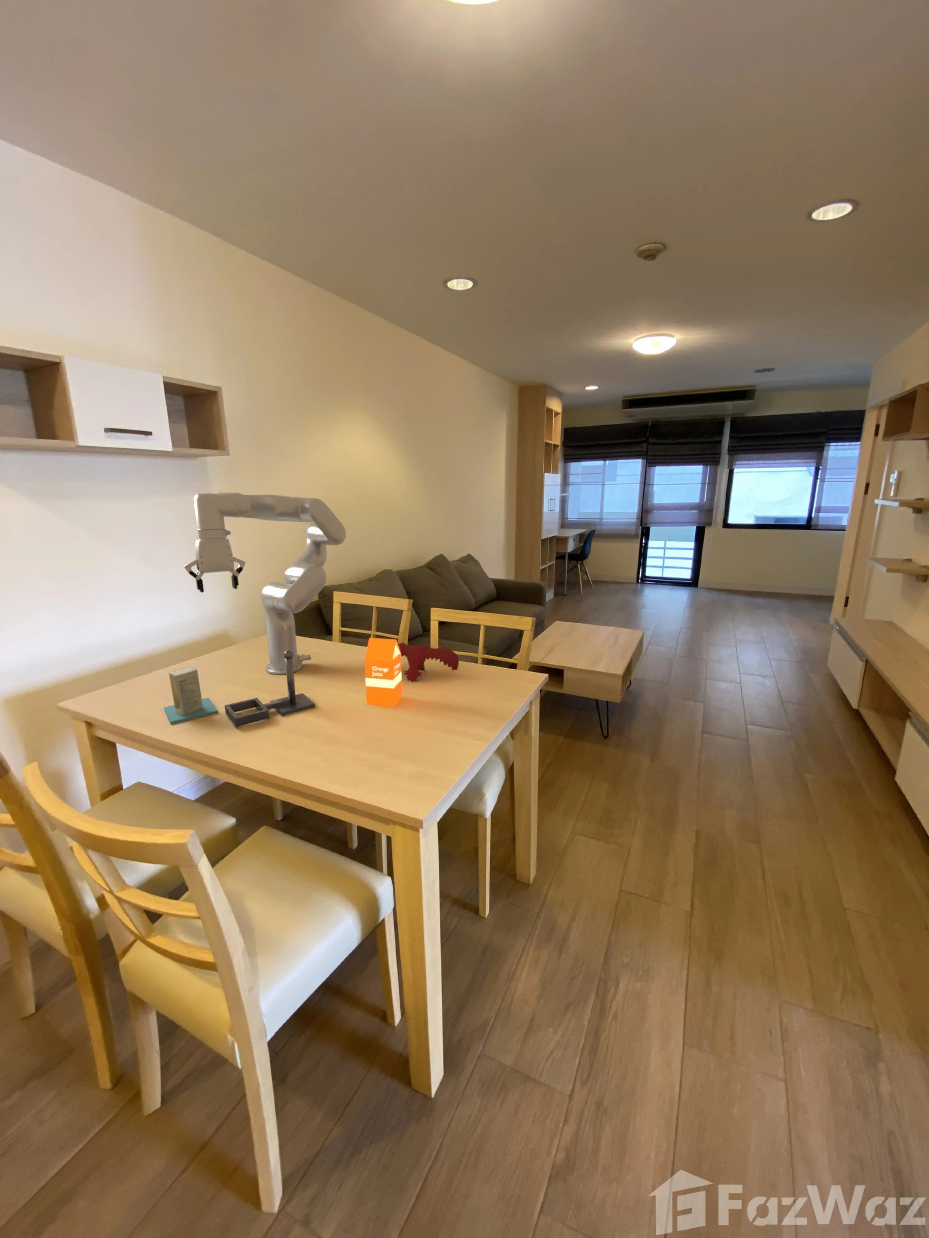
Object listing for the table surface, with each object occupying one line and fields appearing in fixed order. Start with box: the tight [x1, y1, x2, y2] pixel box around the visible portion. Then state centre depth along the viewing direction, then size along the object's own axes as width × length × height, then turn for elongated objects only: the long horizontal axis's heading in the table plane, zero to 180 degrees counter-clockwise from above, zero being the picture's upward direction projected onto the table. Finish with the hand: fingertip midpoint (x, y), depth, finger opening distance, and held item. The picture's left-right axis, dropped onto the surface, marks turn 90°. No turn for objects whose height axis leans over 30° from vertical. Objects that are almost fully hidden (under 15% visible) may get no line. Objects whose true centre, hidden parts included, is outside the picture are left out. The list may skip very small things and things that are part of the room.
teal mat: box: [163, 696, 219, 725], centre depth 146 cm, size 12×12×1 cm
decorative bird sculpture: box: [397, 642, 460, 682], centre depth 175 cm, size 28×9×15 cm
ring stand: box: [224, 650, 316, 728], centre depth 144 cm, size 22×11×18 cm, turn 128°
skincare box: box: [168, 666, 203, 715], centre depth 143 cm, size 6×4×12 cm
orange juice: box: [364, 637, 403, 708], centre depth 152 cm, size 8×9×20 cm
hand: (218, 590), depth 157 cm, fingers open, 9 cm apart
